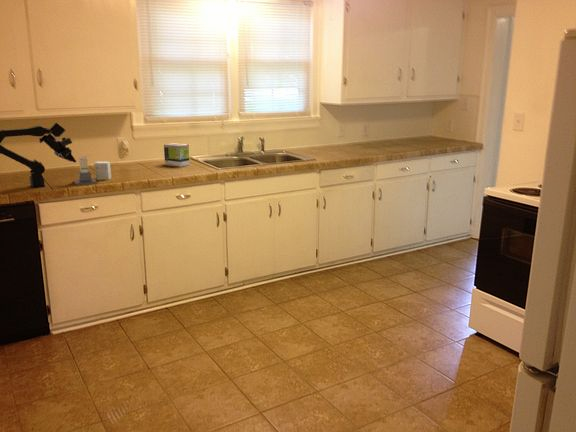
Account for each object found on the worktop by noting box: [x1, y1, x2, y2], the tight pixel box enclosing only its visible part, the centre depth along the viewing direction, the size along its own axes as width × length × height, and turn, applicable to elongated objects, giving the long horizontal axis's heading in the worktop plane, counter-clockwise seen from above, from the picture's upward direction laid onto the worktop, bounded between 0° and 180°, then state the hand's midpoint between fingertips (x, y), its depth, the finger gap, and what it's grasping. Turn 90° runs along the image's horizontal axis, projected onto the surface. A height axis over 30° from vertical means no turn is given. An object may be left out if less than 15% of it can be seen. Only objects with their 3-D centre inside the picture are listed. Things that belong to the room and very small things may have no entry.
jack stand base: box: [73, 170, 98, 186], centre depth 321 cm, size 12×12×6 cm
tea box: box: [163, 142, 190, 168], centre depth 376 cm, size 15×10×15 cm, turn 58°
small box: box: [94, 161, 112, 181], centre depth 331 cm, size 8×6×10 cm
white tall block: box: [78, 156, 89, 173], centre depth 319 cm, size 4×4×10 cm
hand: (73, 161), depth 317 cm, fingers open, 9 cm apart
